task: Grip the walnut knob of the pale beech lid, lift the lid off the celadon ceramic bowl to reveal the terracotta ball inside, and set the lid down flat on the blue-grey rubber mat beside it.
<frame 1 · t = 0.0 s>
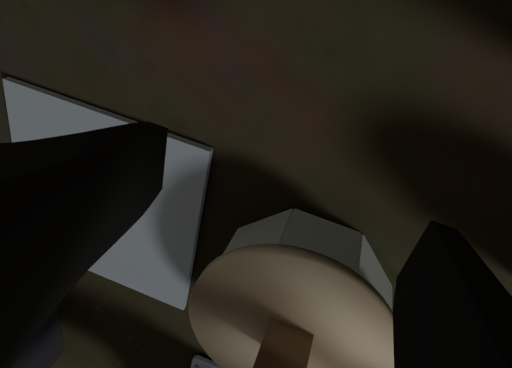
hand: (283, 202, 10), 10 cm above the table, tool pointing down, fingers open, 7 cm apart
bowl: (303, 279, 25), on the table
lid: (289, 328, 21), point 4 cm above the table, touching bowl
mat: (106, 202, 27), on the table
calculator: (48, 310, 37), on the table
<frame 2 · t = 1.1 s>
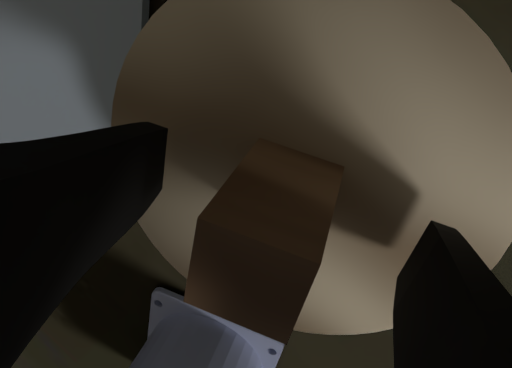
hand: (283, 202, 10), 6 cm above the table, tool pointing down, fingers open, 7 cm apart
lid: (295, 175, 12), point 4 cm above the table, touching bowl
mat: (4, 26, 17), on the table
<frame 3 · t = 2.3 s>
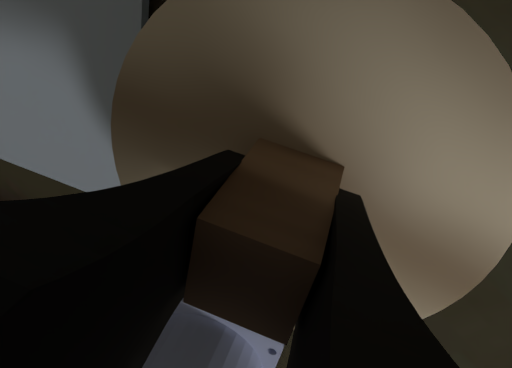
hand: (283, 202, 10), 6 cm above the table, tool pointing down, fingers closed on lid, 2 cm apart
lid: (295, 175, 12), point 4 cm above the table, touching bowl, gripper
mat: (4, 25, 17), on the table
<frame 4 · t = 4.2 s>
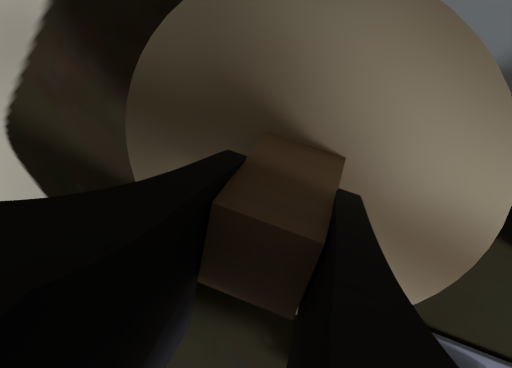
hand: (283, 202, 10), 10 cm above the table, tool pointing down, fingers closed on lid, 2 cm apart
lid: (299, 167, 12), point 8 cm above the table, touching gripper
mat: (333, 95, 19), on the table
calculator: (180, 271, 28), on the table
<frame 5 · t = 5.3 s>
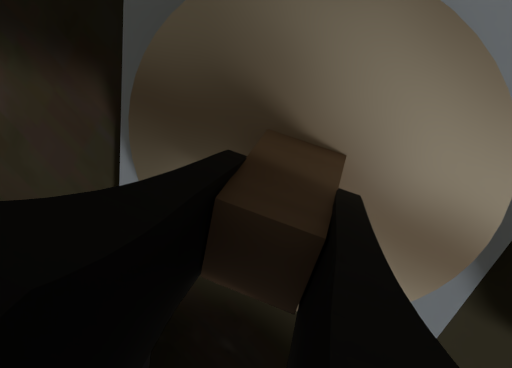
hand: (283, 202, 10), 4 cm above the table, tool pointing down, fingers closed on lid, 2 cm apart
lid: (300, 164, 12), point 1 cm above the table, touching gripper
mat: (308, 149, 13), on the table
when the fingers open (3 cm above the table, at t = 6.0 s): lid stays where it is, resting on mat.
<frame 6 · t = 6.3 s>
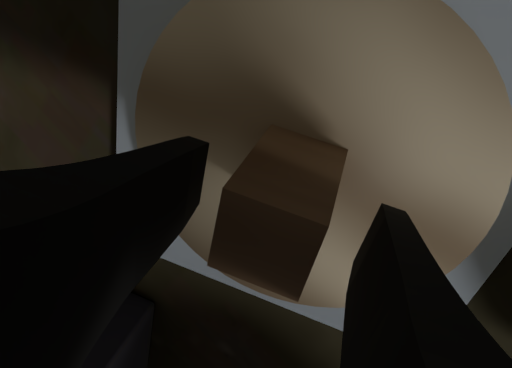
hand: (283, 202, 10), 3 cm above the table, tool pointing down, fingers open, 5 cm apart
lid: (303, 159, 13), resting on mat
mat: (306, 151, 13), on the table
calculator: (127, 346, 23), on the table
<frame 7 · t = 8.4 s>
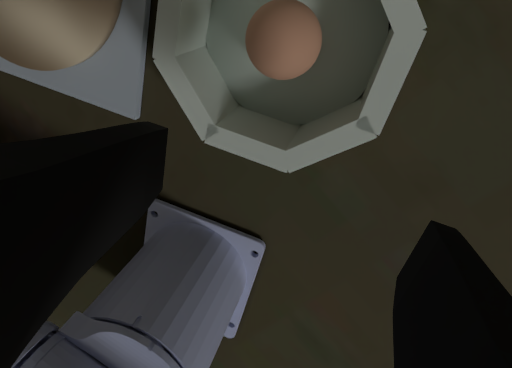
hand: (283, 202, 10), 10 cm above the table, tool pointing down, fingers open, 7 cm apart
bowl: (294, 33, 18), on the table
ball: (283, 40, 16), point 2 cm above the table, touching bowl
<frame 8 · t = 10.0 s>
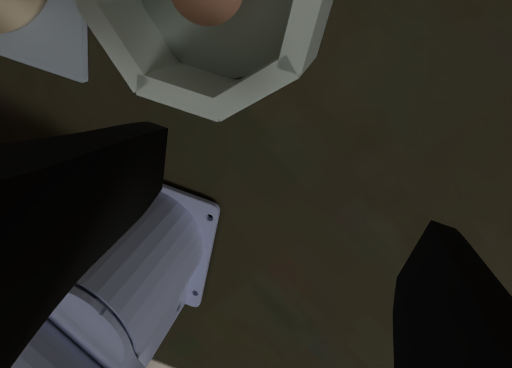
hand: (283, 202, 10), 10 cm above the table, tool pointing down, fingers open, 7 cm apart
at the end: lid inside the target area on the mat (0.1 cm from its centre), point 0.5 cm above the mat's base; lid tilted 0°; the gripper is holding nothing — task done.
